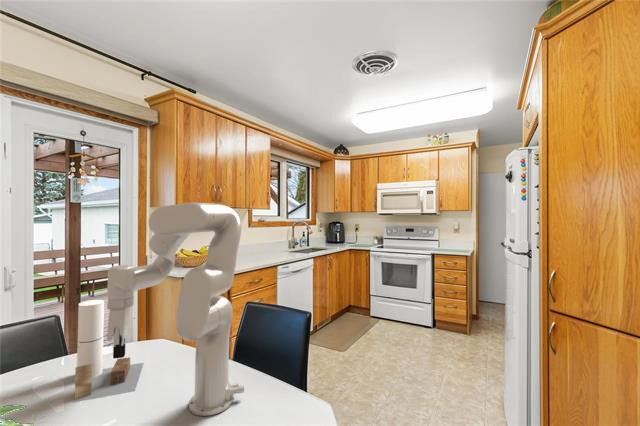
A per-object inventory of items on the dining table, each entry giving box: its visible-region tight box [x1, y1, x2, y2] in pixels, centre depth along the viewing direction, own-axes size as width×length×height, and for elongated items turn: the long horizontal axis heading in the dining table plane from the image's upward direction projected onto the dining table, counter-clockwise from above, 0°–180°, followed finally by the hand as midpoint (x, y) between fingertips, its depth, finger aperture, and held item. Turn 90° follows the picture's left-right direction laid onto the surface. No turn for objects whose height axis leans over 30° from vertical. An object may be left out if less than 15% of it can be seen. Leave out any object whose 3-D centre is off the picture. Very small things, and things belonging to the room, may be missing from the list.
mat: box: [72, 362, 144, 403], centre depth 102 cm, size 16×20×1 cm
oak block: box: [74, 364, 92, 399], centre depth 94 cm, size 4×4×8 cm
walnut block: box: [110, 356, 131, 385], centre depth 105 cm, size 4×4×10 cm
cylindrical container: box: [76, 299, 105, 378], centre depth 105 cm, size 7×7×25 cm
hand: (119, 356), depth 102 cm, fingers closed
